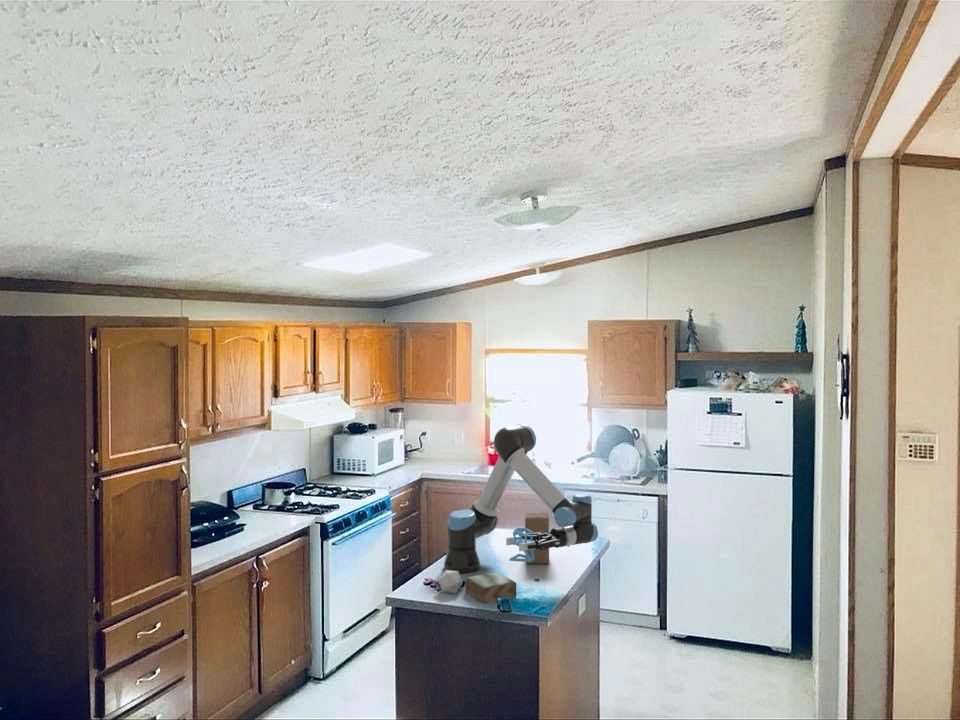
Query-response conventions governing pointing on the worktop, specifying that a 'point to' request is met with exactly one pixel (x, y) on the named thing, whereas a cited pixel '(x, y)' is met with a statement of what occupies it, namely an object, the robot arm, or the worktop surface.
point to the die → (450, 581)
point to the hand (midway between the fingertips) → (513, 544)
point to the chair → (516, 542)
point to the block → (536, 524)
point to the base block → (490, 587)
